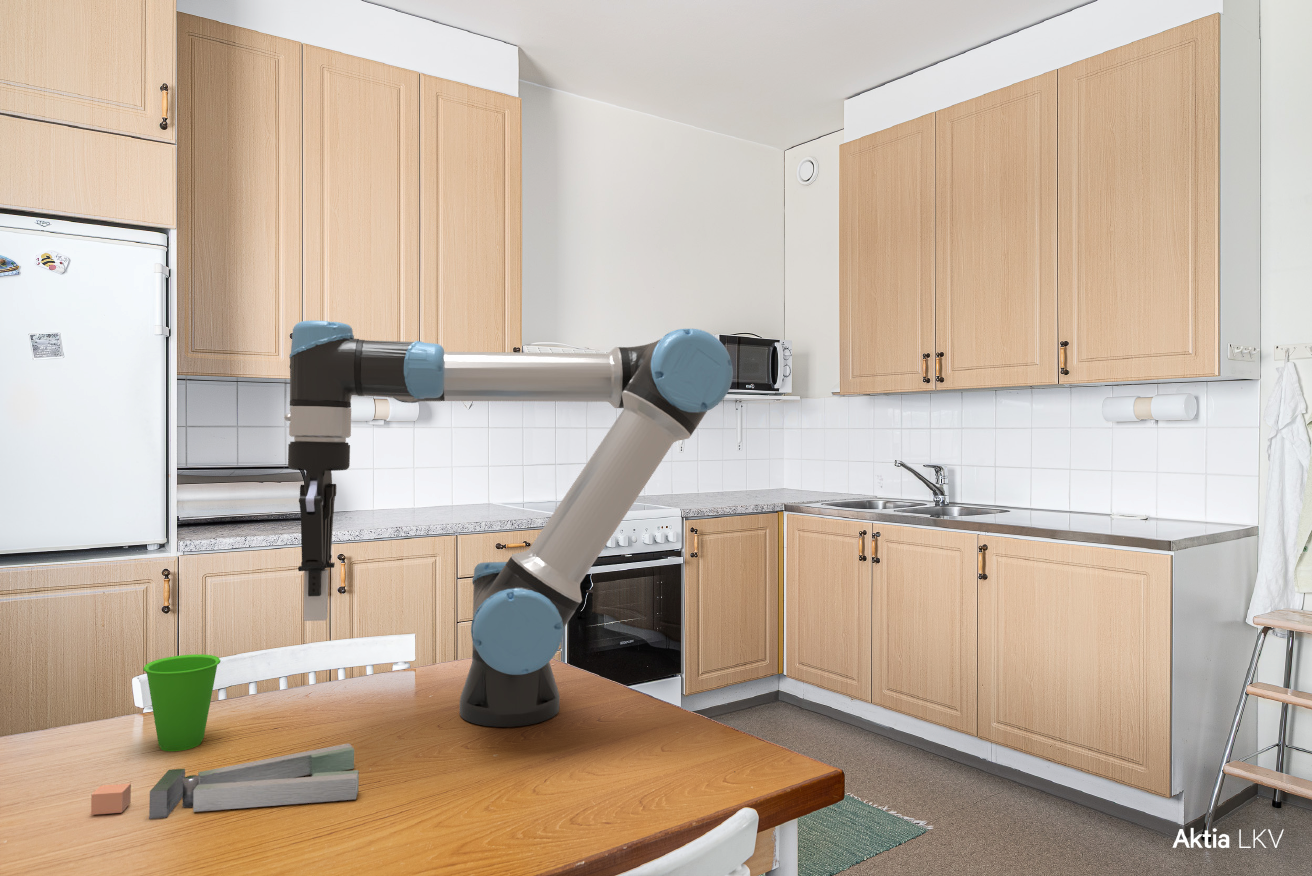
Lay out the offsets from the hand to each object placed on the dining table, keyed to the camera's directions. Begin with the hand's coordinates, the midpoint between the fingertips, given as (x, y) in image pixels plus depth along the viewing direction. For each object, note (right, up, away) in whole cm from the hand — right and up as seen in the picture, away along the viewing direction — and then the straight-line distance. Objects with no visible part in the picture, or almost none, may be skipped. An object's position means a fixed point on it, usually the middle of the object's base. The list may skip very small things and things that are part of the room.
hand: (315, 619), depth 109 cm
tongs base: (-1, -18, -14) cm, 22 cm away
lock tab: (-16, -17, -17) cm, 29 cm away
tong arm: (-1, -18, -9) cm, 20 cm away
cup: (-19, -18, +3) cm, 26 cm away
